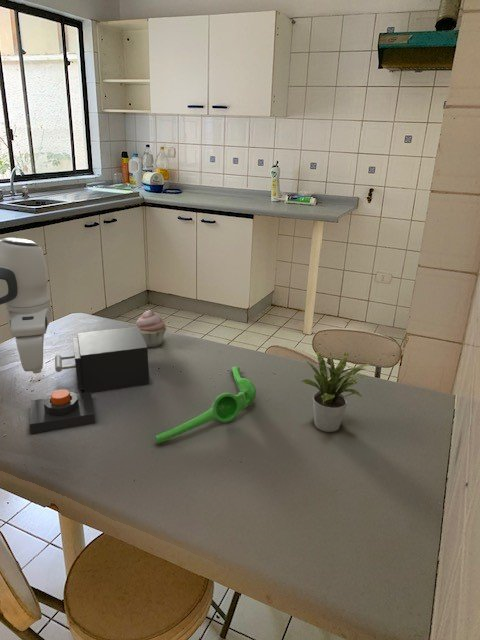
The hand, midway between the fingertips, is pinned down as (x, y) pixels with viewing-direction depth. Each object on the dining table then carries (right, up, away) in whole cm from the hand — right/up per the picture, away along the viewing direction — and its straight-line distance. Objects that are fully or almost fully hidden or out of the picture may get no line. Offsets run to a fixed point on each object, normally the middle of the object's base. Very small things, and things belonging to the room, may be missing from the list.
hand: (37, 370), depth 105 cm
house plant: (+64, -11, -9) cm, 66 cm away
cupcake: (+21, +5, +25) cm, 33 cm away
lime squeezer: (+42, -8, -5) cm, 43 cm away
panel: (+9, -9, -9) cm, 15 cm away
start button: (+9, -5, -10) cm, 15 cm away
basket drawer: (+12, -2, +6) cm, 13 cm away
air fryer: (+15, -2, +7) cm, 17 cm away
